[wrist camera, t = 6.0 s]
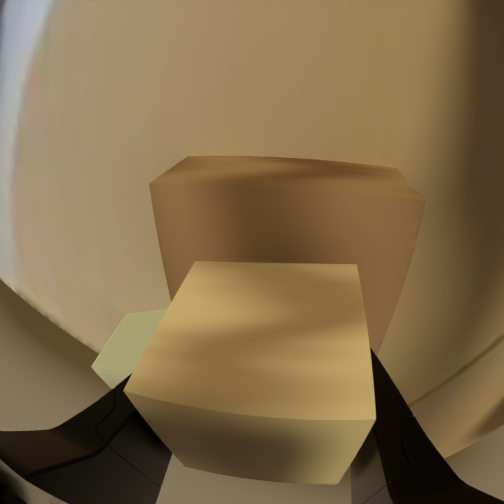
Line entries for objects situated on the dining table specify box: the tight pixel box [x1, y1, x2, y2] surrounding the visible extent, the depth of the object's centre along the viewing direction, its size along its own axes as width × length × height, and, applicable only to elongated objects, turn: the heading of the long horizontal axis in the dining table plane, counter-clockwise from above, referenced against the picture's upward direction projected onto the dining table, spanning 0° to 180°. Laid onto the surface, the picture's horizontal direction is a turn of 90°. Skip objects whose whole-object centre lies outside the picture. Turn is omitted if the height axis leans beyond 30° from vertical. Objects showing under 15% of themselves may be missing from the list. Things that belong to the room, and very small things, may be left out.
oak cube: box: [123, 261, 376, 484], centre depth 8 cm, size 5×5×5 cm
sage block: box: [91, 309, 167, 389], centre depth 18 cm, size 5×5×5 cm
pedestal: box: [149, 156, 425, 356], centre depth 13 cm, size 9×9×4 cm
